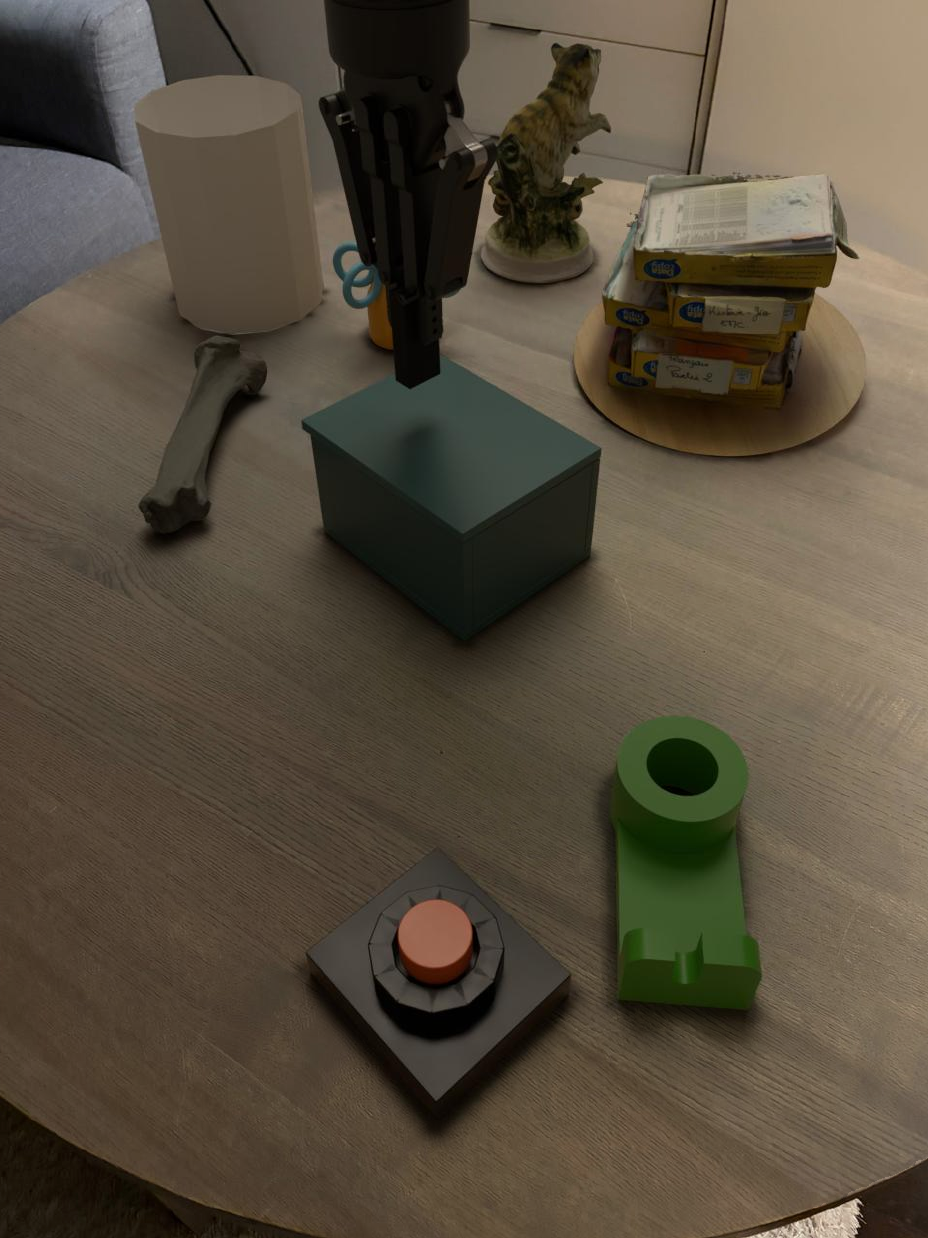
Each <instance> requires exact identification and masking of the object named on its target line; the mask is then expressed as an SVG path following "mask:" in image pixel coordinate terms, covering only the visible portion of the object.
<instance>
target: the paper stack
mask: <svg viewBox="0 0 928 1238" xmlns="http://www.w3.org/2000/svg"><path fill="white" fill-rule="evenodd" d="M657 173H661V174H657ZM657 173H655V174H652V175H650V176H649V175H648V176H647V177H646V181H645V187H644V191H643V194H642V198H641V199H642V200H641V203H640V207H639V211H638V213H634V214H632V212H629V215H634V220H633V221H630V222H627V223H626V227H627V228H630V229H629V230H628V232H627V235H626V238H625V240H624V242H623V243H622V245H621V247H620V248H619V250H618V253H617V254H616V256H615V259H614V260H613V262H612V265H611V266H610V269H609V273H608V275H607V279H606V280H605V283H604V287H603V290H602V292H601V301H600V302H599V303H598V304H597V305H596V306H595V307H594V308H592V310H591V311H590V312H589V314H588V315H587V316H586V317H585V319H584V320H583V322H582V324H581V326H580V328H579V331H578V333H577V335H576V339H575V343H574V348H573V363H574V370H575V373H576V377H577V380H578V381H579V384H580V386H581V388H582V390H583V391H584V393H585V395H586V396H587V397H588V399H589V400H590V402H591V403H592V404H593V405H594V406H595V407H596V409H597V410H599V411H600V412H601V413H602V414H603V415H604V416H606V418H608V419H609V420H610V421H611V422H613V423H614V424H616V425H617V426H619V427H620V428H622V429H624V430H625V431H627V432H629V433H631V434H633V435H634V436H637V437H639V438H641V439H643V440H645V441H647V442H650V443H653V444H655V445H658V446H662V447H665V448H668V449H672V450H676V451H679V452H685V453H691V454H695V455H696V454H697V455H704V456H717V457H742V456H743V457H747V456H755V455H763V454H768V453H774V452H779V451H781V450H782V451H783V450H786V449H790V448H792V447H795V446H798V445H801V444H804V443H806V442H808V441H810V440H812V439H815V438H817V437H818V436H820V435H822V434H824V433H825V432H827V431H828V430H831V428H833V427H834V426H836V425H837V424H838V423H839V422H841V421H842V420H843V419H844V418H845V417H846V416H847V415H848V414H849V412H850V411H851V410H852V409H853V408H854V406H855V405H856V403H857V402H858V400H859V398H860V397H861V395H862V392H863V389H864V386H865V384H866V379H867V378H866V377H867V358H866V352H865V349H864V346H863V343H862V340H861V338H860V337H859V334H858V332H857V331H856V330H855V328H854V326H853V325H852V323H851V322H850V321H849V319H847V318H846V316H845V315H844V314H843V313H842V312H841V311H840V310H839V309H837V307H836V306H835V305H833V304H832V303H830V302H829V301H828V300H826V299H825V298H824V297H823V296H821V295H819V294H818V293H816V289H817V288H821V289H826V288H829V286H830V285H831V283H832V279H833V275H834V271H835V268H836V264H837V261H838V260H837V259H838V249H839V250H840V252H841V253H842V254H843V255H845V256H846V257H848V258H850V259H853V260H859V259H860V256H859V254H858V253H857V252H856V251H855V249H853V248H852V247H851V246H850V245H849V240H848V223H847V220H846V217H845V215H844V212H843V208H842V205H841V202H840V199H839V197H838V194H837V193H836V190H835V185H834V182H833V181H832V180H830V178H829V176H828V175H827V174H822V173H818V174H811V175H798V176H783V177H781V175H778V174H776V175H774V174H773V175H772V177H773V178H771V175H770V174H766V175H764V176H762V175H761V174H755V175H754V176H752V175H751V174H747V175H745V176H743V175H741V172H735V171H733V172H732V175H719V176H717V175H715V174H711V175H705V174H701V173H700V174H691V175H690V174H688V175H687V174H681V175H675V174H670V173H666V174H664V171H659V170H658V171H657ZM736 174H737V175H736ZM735 175H736V178H735ZM714 177H715V178H714ZM764 177H765V178H768V179H767V180H766V179H765V180H760V179H764ZM754 179H756V180H754ZM758 179H759V180H758Z"/></svg>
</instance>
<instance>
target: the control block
mask: <svg viewBox="0 0 928 1238" xmlns="http://www.w3.org/2000/svg"><path fill="white" fill-rule="evenodd" d="M434 899H438V900H445V901H449V902H451V903H453V904H455V905H457V906H458V907H460V908H461V909H462V910H463V911H464V912H465V913H466V915H467V916H468V918H469V920H470V922H471V925H472V930H473V954H472V959H471V961H470V964H469V966H468V967H467V969H466V970H465V971H464V972H463V973H462V974H461V975H460V976H459V977H458V978H456V979H454V980H453V981H450V982H448V983H444V984H436V985H433V984H427V983H423V982H420V981H418V980H416V979H415V978H413V977H412V976H411V975H410V974H409V973H408V972H407V971H406V970H405V968H404V966H403V964H402V962H401V959H400V953H399V944H398V928H399V924H400V922H401V920H402V918H403V916H404V915H405V914H406V913H407V911H409V910H410V909H411V908H412V907H413V906H415V905H417V904H418V903H421V902H423V901H427V900H434ZM305 957H306V960H307V964H308V965H307V966H308V968H309V972H310V973H311V974H312V976H313V977H314V978H315V979H316V981H318V982H319V984H320V985H321V986H322V987H323V989H324V990H325V991H326V992H327V993H328V995H330V997H331V998H332V999H333V1000H334V1002H335V1003H336V1004H337V1005H338V1006H339V1007H340V1008H341V1010H343V1012H344V1013H345V1014H346V1015H347V1017H348V1018H349V1019H350V1020H351V1021H352V1023H354V1025H355V1026H356V1027H357V1028H358V1029H359V1030H360V1032H362V1034H363V1035H364V1036H365V1037H366V1038H367V1040H368V1041H369V1042H370V1043H371V1044H372V1046H373V1047H374V1048H375V1049H376V1050H377V1051H378V1052H379V1054H380V1055H381V1056H382V1057H383V1058H384V1059H385V1061H387V1063H388V1064H389V1065H390V1066H391V1068H393V1070H394V1071H395V1072H396V1073H397V1074H398V1076H399V1077H400V1078H401V1079H402V1080H403V1081H404V1083H405V1084H406V1085H407V1086H408V1087H409V1088H410V1090H411V1091H412V1092H413V1093H414V1094H415V1095H416V1096H417V1098H418V1099H419V1100H420V1101H421V1103H423V1105H424V1106H425V1107H426V1108H427V1110H429V1112H430V1113H431V1114H432V1115H433V1116H434V1118H436V1119H437V1120H439V1119H440V1118H441V1117H442V1116H443V1115H444V1114H445V1113H446V1112H447V1111H449V1109H450V1108H451V1107H453V1106H454V1105H455V1104H456V1103H457V1102H458V1101H459V1100H460V1099H461V1098H462V1097H463V1096H464V1095H465V1094H466V1093H467V1092H468V1091H469V1090H470V1089H471V1088H472V1087H474V1086H475V1085H476V1083H478V1081H480V1080H481V1079H482V1078H483V1077H484V1076H485V1075H486V1074H487V1073H488V1072H489V1071H491V1069H492V1068H493V1067H495V1065H497V1064H498V1063H499V1062H500V1061H501V1060H502V1059H503V1058H504V1057H505V1056H506V1055H507V1054H509V1052H510V1051H511V1050H512V1049H513V1048H514V1047H515V1046H516V1045H517V1044H519V1042H521V1041H522V1040H523V1039H524V1037H526V1036H527V1035H528V1034H530V1032H531V1031H532V1030H533V1029H534V1028H535V1027H536V1026H537V1025H538V1024H539V1023H540V1022H541V1021H542V1020H543V1019H544V1018H545V1017H547V1016H548V1015H549V1014H550V1013H551V1012H552V1011H553V1010H554V1009H555V1008H556V1007H557V1006H558V1005H559V1004H561V1002H563V1000H564V999H565V998H566V997H567V996H568V995H569V994H570V988H571V981H572V973H571V972H569V970H568V969H566V968H565V967H564V966H563V965H562V964H561V963H560V962H559V961H558V960H557V959H556V958H555V957H554V956H553V955H551V954H550V952H549V951H548V950H547V949H545V948H544V946H543V945H541V944H540V943H539V942H538V941H537V940H536V939H535V938H534V937H533V936H532V935H531V934H530V933H529V932H528V931H527V930H526V929H525V928H524V927H522V925H520V924H519V922H518V921H516V919H514V918H513V916H511V915H510V913H508V912H507V911H506V910H505V909H504V908H502V907H501V906H500V904H498V902H496V901H495V900H494V899H493V898H492V896H490V895H489V893H487V891H485V890H484V889H483V888H482V887H481V886H480V885H478V884H477V883H476V881H474V880H473V879H472V877H470V876H469V874H467V873H466V872H465V871H464V870H463V869H462V868H461V867H460V866H459V865H458V864H457V863H455V862H454V860H453V859H451V858H450V857H449V856H448V855H447V853H446V852H444V851H443V850H442V849H441V848H440V847H439V846H437V847H436V848H434V849H433V850H432V851H431V852H429V853H428V854H426V856H424V857H423V858H422V859H420V860H419V861H418V862H417V863H415V864H414V865H413V866H412V867H410V868H409V869H408V870H406V871H405V872H404V873H403V874H401V875H400V876H399V877H397V878H396V880H394V881H392V882H391V883H390V884H389V885H388V886H387V887H386V888H384V889H383V890H382V891H380V892H379V893H377V895H375V896H374V897H373V898H372V899H370V900H369V901H367V903H365V904H364V905H363V906H361V907H360V908H358V910H356V911H355V912H354V913H352V914H351V915H350V916H349V917H348V918H346V919H345V920H344V921H343V922H341V923H340V924H339V925H337V926H336V927H335V928H333V930H331V931H330V932H328V933H327V934H326V935H325V936H324V937H322V938H321V939H320V940H319V941H318V942H316V943H315V944H314V945H312V946H311V947H310V948H308V949H307V950H306V951H305Z"/></svg>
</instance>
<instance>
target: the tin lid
mask: <svg viewBox="0 0 928 1238" xmlns="http://www.w3.org/2000/svg"><path fill="white" fill-rule="evenodd" d="M440 373H441V374H439V375H437V376H435V377H433V378H431V379H429V380H428V381H426V382H424V383H422V384H420V385H418V386H416V387H414V388H412V389H408V388H407V387H405V386H404V385H402V384H400V383H399V382H397V381H396V379H395V372H394V373H393V374H391V375H388V376H386V377H384V378H383V379H380V380H378V381H377V382H375V383H373V384H371V385H368V386H366V387H365V388H362V389H360V390H359V391H357V392H354V393H353V394H350V395H348V396H347V397H345V398H343V399H341V400H339V401H337V402H335V403H331V405H329V406H326V407H324V408H323V409H321V410H319V411H316V412H315V413H312V414H311V415H309V416H306V417H305V418H302V419H301V427H302V430H303V431H304V432H306V433H307V434H308V435H311V436H313V437H314V438H316V439H317V440H318V441H320V442H321V443H323V444H324V445H325V446H327V447H328V448H330V449H331V450H332V451H334V452H335V453H337V454H338V455H339V456H341V457H342V458H344V459H345V460H346V461H348V462H349V463H351V464H352V465H353V466H355V467H356V468H358V469H359V470H361V471H362V472H363V473H365V474H366V475H368V476H369V477H370V478H372V479H373V480H375V481H376V482H377V483H379V484H380V485H382V486H383V487H384V488H386V489H387V490H389V491H390V492H391V493H393V494H394V495H396V496H397V497H398V498H400V499H401V500H403V501H404V502H405V503H407V504H408V505H410V506H411V507H412V508H414V509H415V510H417V511H418V512H419V513H421V514H422V515H424V516H425V517H426V518H428V519H429V520H431V521H432V522H433V523H435V524H436V525H438V526H439V527H440V528H442V529H443V530H445V531H446V532H447V533H449V534H450V535H452V536H453V537H454V538H456V539H457V540H459V541H460V542H461V543H464V542H466V541H467V540H469V539H470V538H472V537H474V536H475V535H477V534H478V533H480V532H482V531H483V530H485V529H486V528H488V527H490V526H491V525H493V524H494V523H496V522H498V521H499V520H501V519H502V518H504V517H506V516H507V515H509V514H511V513H512V512H514V511H515V510H517V509H519V508H520V507H522V506H523V505H525V504H527V503H528V502H530V501H531V500H533V499H535V498H536V497H538V496H539V495H541V494H543V493H544V492H546V491H547V490H549V489H551V488H552V487H554V486H555V485H557V484H559V483H560V482H562V481H563V480H565V479H567V478H568V477H570V476H572V475H573V474H575V473H576V472H578V471H580V470H581V469H583V468H584V467H586V466H588V465H589V464H591V463H592V462H594V461H596V460H597V459H599V458H600V459H601V457H602V447H601V446H599V445H597V444H596V443H595V442H592V441H591V440H589V439H587V438H585V437H584V436H582V435H580V434H578V433H577V432H575V431H573V430H571V429H570V428H569V427H566V426H565V425H563V424H562V423H560V422H558V421H556V420H555V419H553V418H551V417H549V416H548V415H545V414H544V413H543V412H541V411H540V410H537V409H536V408H534V407H532V406H531V405H529V404H527V403H526V402H523V401H522V400H520V399H519V398H516V397H515V396H513V395H511V394H510V393H508V392H507V391H505V390H503V389H501V388H499V387H498V386H496V385H494V384H493V383H491V382H489V381H488V380H486V379H485V378H483V377H480V376H479V375H478V374H475V373H474V372H472V371H470V370H469V369H467V368H465V367H464V366H462V365H460V364H458V363H456V362H455V361H454V360H452V359H450V358H448V357H447V356H445V355H443V354H441V353H440ZM311 436H310V437H311Z"/></svg>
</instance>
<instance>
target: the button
mask: <svg viewBox="0 0 928 1238" xmlns="http://www.w3.org/2000/svg"><path fill="white" fill-rule="evenodd" d="M398 944H399V953H400V959H401V962H402V964H403V966H404V968H405V970H406V971H407V972H408V973H409V974H410V975H411V976H412V977H413V978H415V979H416V980H418V981H420V982H423V983H427V984H433V985H436V984H444V983H448V982H450V981H453V980H454V979H456V978H458V977H459V976H460V975H461V974H462V973H463V972H464V971H465V970H466V969H467V967H468V966H469V964H470V961H471V959H472V954H473V930H472V925H471V922H470V920H469V918H468V916H467V915H466V913H465V912H464V911H463V910H462V909H461V908H460V907H458V906H457V905H455V904H453V903H451V902H449V901H445V900H438V899H434V900H427V901H423V902H421V903H418V904H417V905H415V906H413V907H412V908H411V909H410V910H409V911H407V913H406V914H405V915H404V916H403V918H402V920H401V922H400V924H399V928H398Z"/></svg>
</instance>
